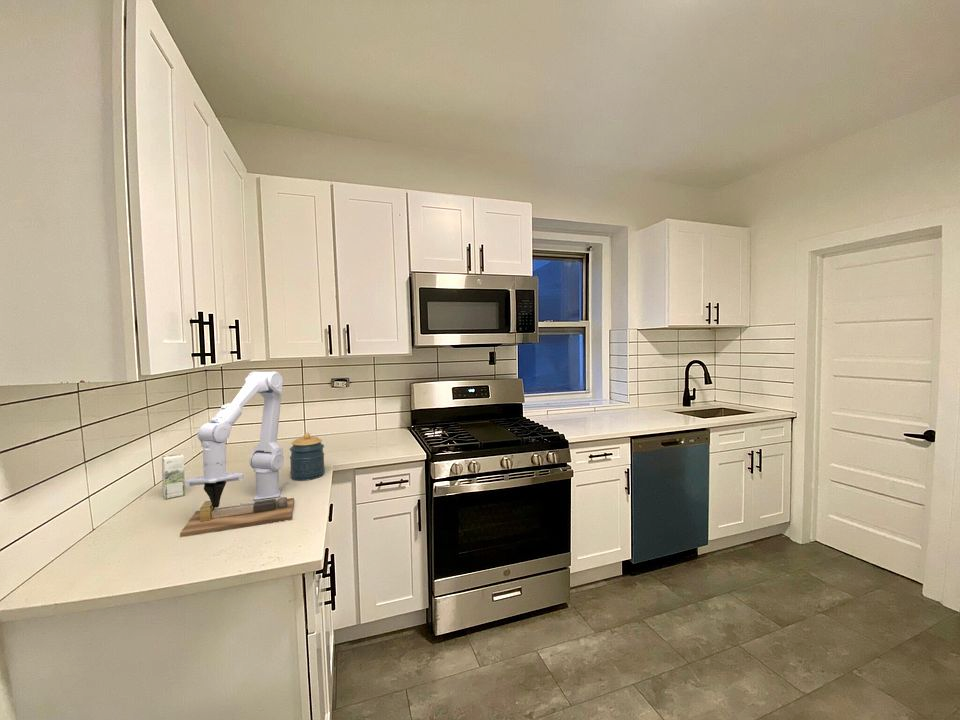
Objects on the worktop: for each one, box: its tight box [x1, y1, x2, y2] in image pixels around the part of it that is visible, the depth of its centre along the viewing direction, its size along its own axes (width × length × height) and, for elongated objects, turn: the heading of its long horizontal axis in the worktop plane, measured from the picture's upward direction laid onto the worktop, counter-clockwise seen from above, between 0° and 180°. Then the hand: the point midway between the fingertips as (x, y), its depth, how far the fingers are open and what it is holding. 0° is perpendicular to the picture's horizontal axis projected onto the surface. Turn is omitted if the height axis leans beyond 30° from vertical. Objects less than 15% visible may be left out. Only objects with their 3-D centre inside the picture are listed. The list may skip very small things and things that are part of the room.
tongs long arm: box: [211, 501, 276, 518], centre depth 124 cm, size 2×17×2 cm, turn 112°
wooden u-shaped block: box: [199, 500, 216, 521], centre depth 121 cm, size 6×2×4 cm, turn 22°
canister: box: [289, 432, 326, 481], centre depth 164 cm, size 13×13×18 cm
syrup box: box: [161, 452, 186, 500], centre depth 143 cm, size 6×6×14 cm
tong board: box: [179, 496, 295, 538], centre depth 124 cm, size 16×28×4 cm, turn 112°
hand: (216, 506), depth 122 cm, fingers closed
